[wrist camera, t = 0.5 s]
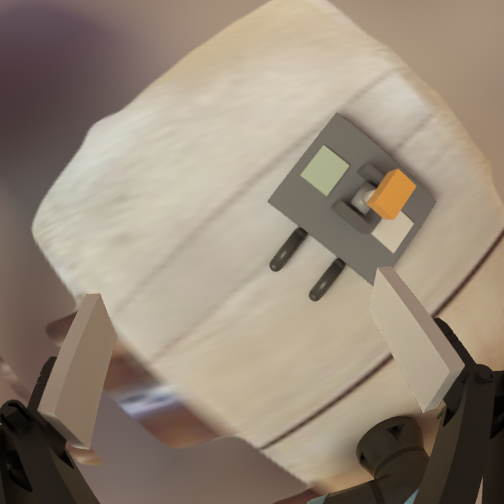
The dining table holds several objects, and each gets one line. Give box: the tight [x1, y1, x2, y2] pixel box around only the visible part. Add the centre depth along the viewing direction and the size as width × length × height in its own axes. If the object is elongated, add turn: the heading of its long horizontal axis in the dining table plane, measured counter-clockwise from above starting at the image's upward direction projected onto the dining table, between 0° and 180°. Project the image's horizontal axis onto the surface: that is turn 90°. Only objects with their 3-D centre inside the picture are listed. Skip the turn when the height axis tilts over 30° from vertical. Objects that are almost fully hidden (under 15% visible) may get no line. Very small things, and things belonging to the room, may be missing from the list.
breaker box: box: [267, 113, 437, 301], centre depth 44 cm, size 22×26×7 cm
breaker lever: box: [349, 169, 416, 220], centre depth 37 cm, size 3×5×13 cm, turn 143°
